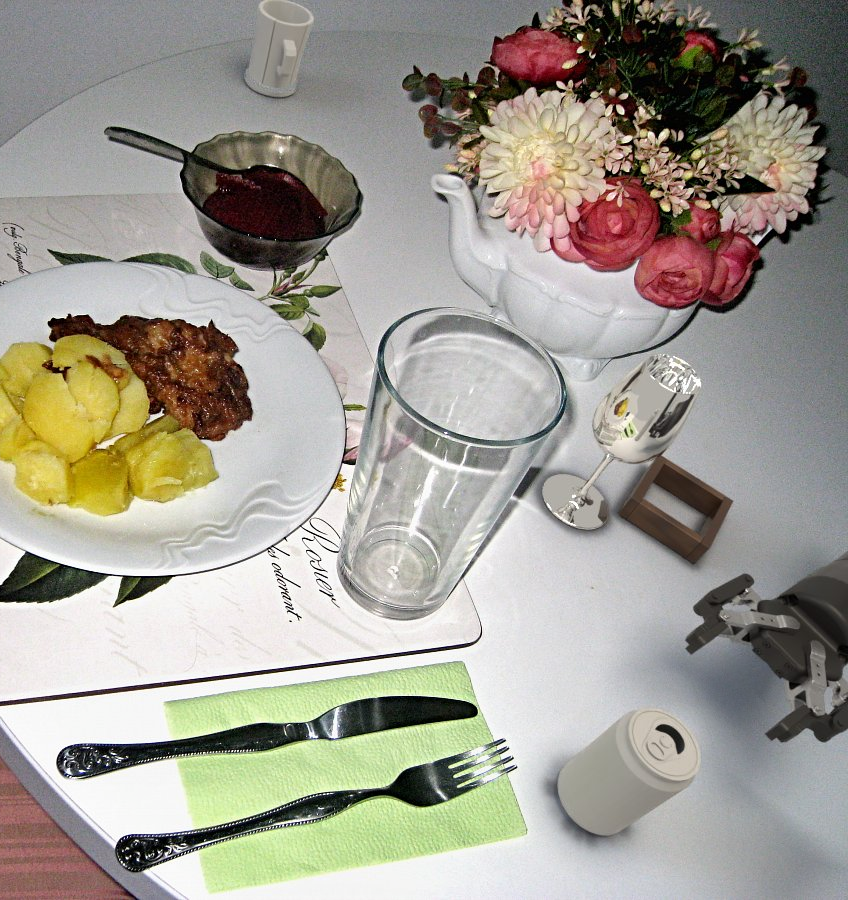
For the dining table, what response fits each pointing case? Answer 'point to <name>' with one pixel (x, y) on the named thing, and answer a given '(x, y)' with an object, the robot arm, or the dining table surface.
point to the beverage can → (629, 771)
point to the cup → (278, 44)
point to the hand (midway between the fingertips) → (732, 689)
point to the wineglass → (628, 433)
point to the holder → (667, 526)
